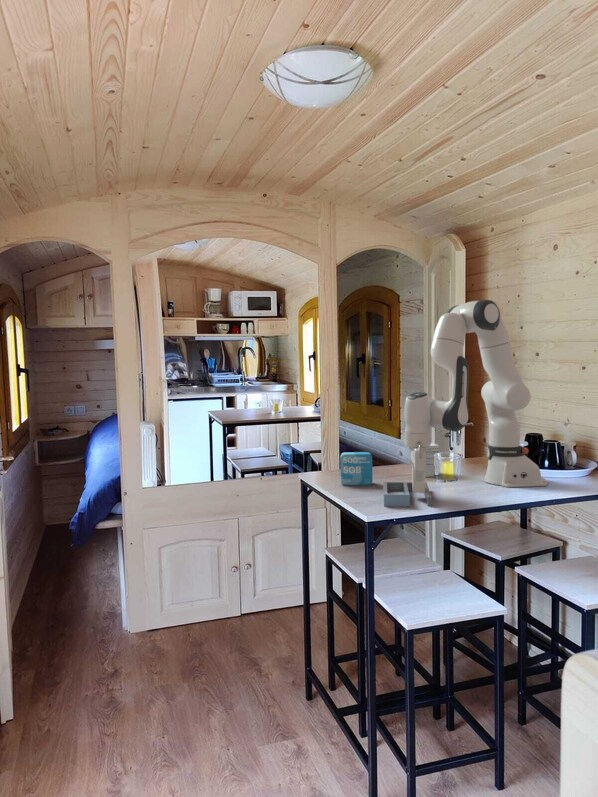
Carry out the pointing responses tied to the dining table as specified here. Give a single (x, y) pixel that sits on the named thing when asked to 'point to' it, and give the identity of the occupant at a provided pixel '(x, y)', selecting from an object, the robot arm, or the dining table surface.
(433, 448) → the supplement box
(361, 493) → the dining table surface
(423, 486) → the beige rectangular block
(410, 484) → the grey open compartment holder
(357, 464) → the data package
